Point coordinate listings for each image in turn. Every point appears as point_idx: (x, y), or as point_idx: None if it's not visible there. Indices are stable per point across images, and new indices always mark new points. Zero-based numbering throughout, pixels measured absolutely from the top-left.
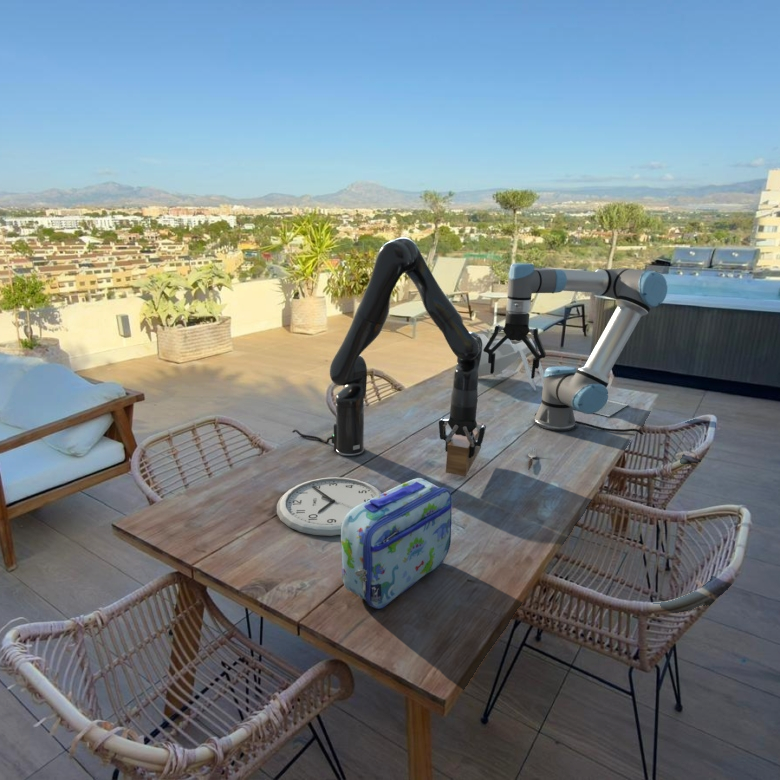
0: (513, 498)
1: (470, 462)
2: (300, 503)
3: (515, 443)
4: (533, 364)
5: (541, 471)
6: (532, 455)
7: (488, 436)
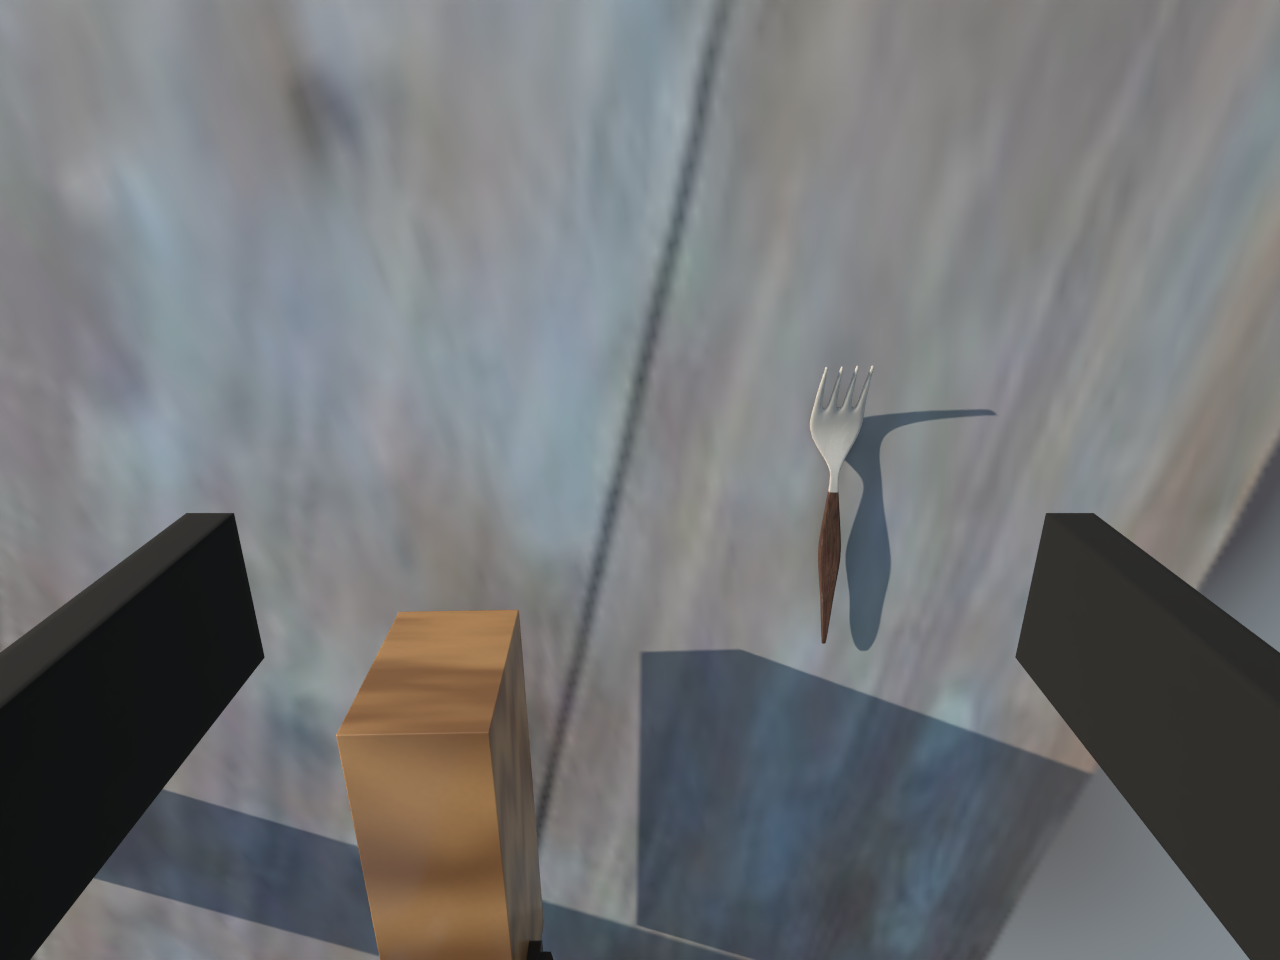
0: (771, 882)
1: (534, 875)
2: None
3: (700, 232)
4: (1228, 902)
5: (892, 601)
6: (837, 427)
7: (473, 173)
